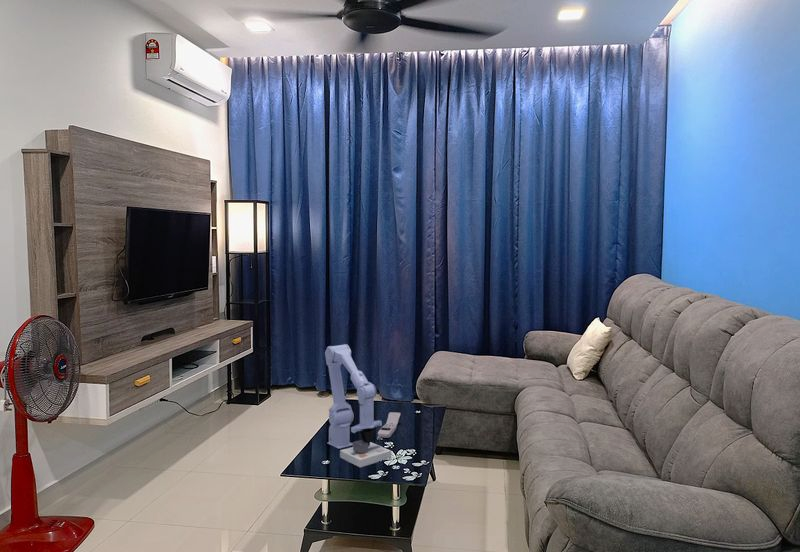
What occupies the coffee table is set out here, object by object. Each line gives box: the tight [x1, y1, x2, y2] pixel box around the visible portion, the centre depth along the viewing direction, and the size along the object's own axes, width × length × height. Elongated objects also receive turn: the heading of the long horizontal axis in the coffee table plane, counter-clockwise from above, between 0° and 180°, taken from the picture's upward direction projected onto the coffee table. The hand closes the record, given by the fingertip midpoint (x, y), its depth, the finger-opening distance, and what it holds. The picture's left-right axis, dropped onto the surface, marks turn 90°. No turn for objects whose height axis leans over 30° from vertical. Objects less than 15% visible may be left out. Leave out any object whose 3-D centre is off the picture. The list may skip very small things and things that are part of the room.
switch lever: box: [352, 439, 368, 454], centre depth 238 cm, size 4×5×4 cm
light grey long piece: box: [376, 411, 401, 440], centre depth 274 cm, size 6×6×25 cm
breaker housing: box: [339, 441, 392, 468], centre depth 240 cm, size 16×14×3 cm
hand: (366, 446), depth 240 cm, fingers closed
